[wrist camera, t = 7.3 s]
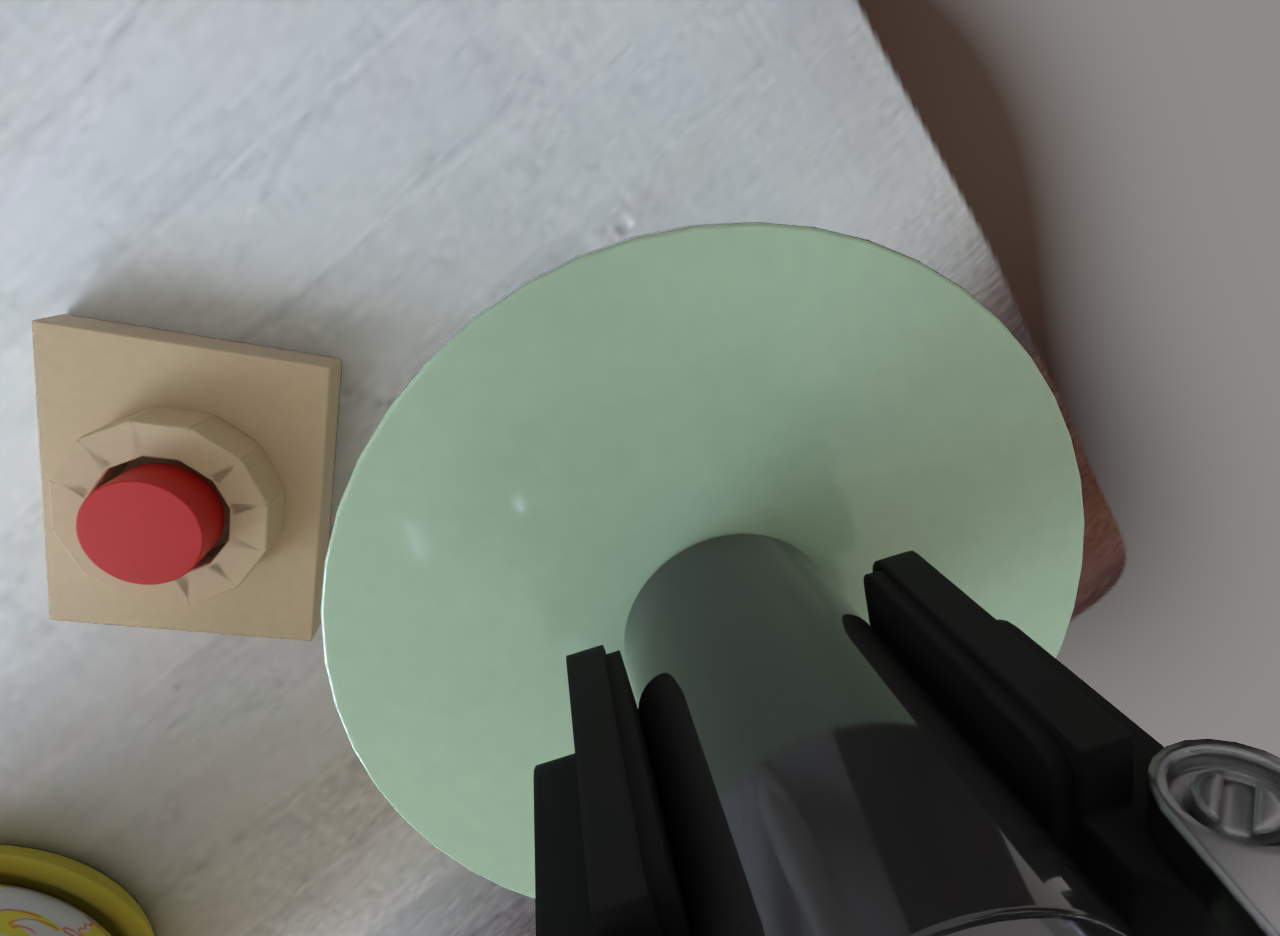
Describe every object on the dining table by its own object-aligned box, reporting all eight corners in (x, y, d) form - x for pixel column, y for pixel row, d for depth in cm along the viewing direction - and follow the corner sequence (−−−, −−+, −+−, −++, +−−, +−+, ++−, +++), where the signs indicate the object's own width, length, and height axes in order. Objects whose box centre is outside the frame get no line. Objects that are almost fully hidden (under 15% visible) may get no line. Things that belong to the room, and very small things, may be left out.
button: (104, 454, 23) (72, 473, 21) (226, 470, 23) (204, 488, 22) (107, 554, 24) (76, 579, 22) (224, 566, 24) (202, 591, 23)
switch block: (63, 313, 24) (-10, 327, 20) (342, 358, 26) (316, 378, 22) (76, 597, 27) (15, 648, 24) (323, 618, 29) (298, 669, 26)
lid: (197, 351, 10) (-644, 676, 3) (1023, 128, 11) (2023, -64, 4) (483, 942, 15) (443, 1643, 7) (1048, 755, 15) (1512, 1224, 8)
